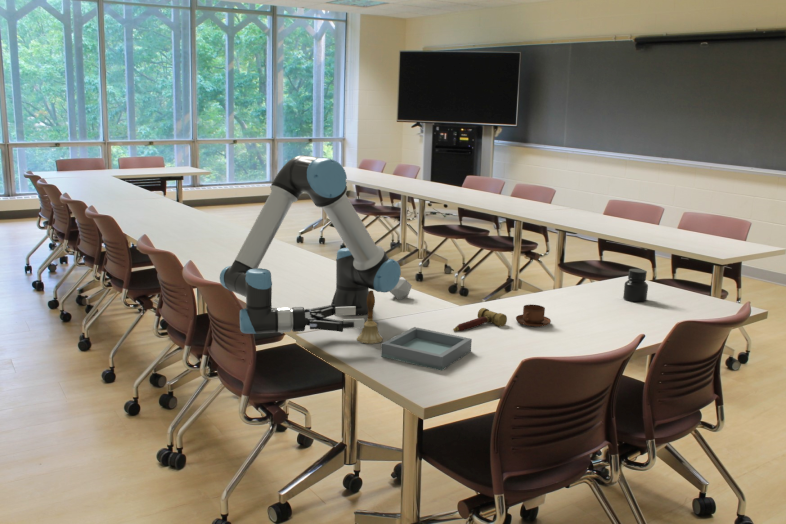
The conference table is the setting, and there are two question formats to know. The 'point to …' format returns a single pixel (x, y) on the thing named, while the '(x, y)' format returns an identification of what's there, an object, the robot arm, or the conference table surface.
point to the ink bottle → (636, 286)
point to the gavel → (483, 320)
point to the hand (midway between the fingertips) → (359, 316)
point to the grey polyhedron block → (401, 289)
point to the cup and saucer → (533, 316)
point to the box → (426, 348)
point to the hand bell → (370, 324)
